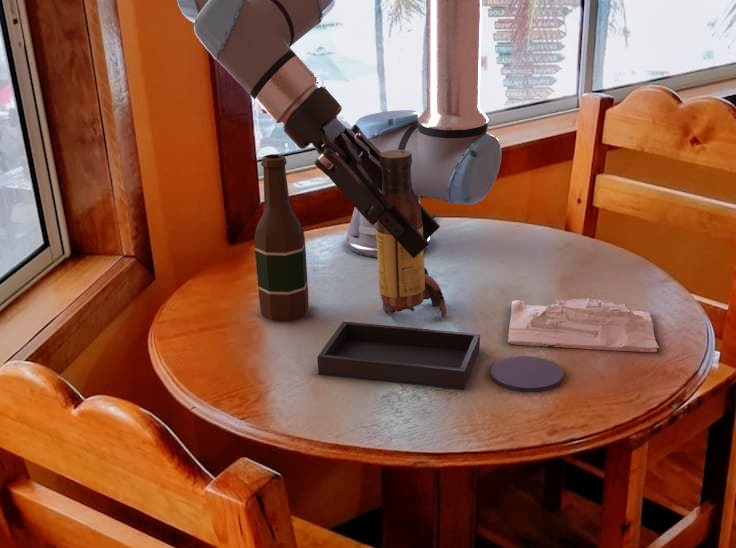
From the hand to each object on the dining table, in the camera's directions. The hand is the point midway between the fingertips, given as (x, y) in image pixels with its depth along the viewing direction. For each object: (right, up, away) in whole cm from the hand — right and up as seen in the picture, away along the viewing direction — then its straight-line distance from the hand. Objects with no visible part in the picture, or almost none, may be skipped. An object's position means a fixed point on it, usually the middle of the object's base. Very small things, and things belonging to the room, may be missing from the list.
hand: (427, 241), depth 129 cm
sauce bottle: (-4, -7, +6) cm, 10 cm away
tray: (-4, -14, +10) cm, 18 cm away
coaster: (+14, -17, +7) cm, 23 cm away
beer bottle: (-22, -5, +25) cm, 34 cm away
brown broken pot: (-2, -4, +26) cm, 26 cm away
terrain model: (+24, -8, +20) cm, 32 cm away
